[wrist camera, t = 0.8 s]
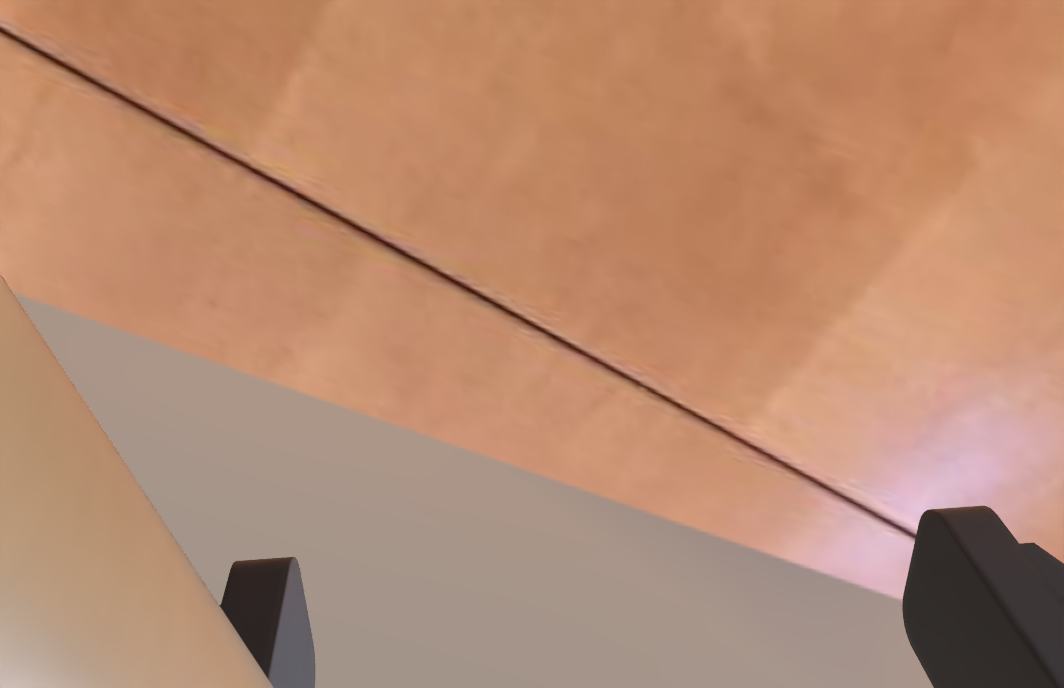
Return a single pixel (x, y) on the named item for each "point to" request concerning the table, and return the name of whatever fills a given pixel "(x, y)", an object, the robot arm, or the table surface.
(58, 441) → the green wooden mallet
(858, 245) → the table surface
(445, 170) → the table surface
